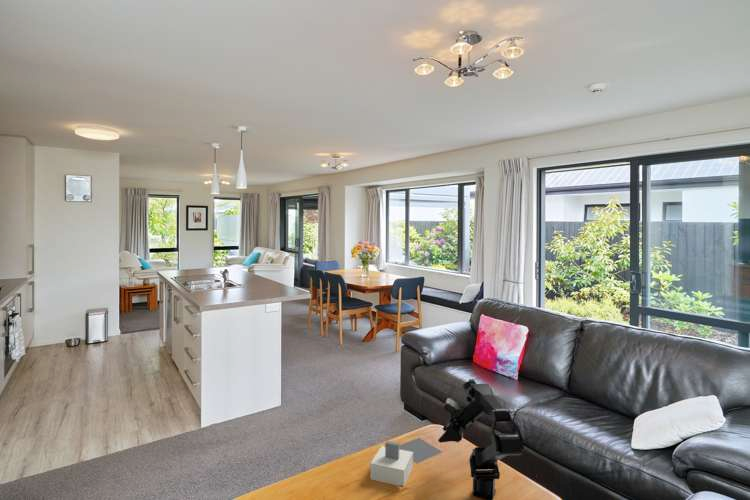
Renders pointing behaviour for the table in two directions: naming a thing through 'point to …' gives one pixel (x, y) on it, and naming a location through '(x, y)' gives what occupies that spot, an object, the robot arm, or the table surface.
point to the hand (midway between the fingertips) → (441, 435)
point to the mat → (420, 449)
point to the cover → (391, 464)
